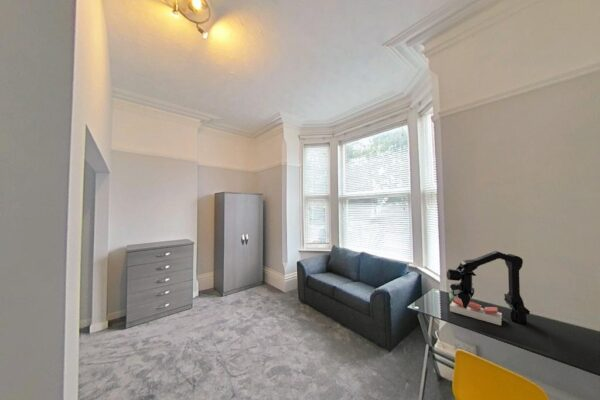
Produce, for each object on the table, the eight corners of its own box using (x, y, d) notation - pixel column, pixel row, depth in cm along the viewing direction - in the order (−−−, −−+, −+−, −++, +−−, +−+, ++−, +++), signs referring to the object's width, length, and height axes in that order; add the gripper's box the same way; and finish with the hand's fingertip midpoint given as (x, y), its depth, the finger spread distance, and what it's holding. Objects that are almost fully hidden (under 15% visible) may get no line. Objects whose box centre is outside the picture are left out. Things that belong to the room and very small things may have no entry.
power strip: (508, 321, 130) (508, 314, 130) (507, 327, 123) (507, 320, 123) (452, 306, 150) (452, 300, 150) (450, 311, 143) (449, 304, 143)
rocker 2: (481, 307, 138) (481, 305, 138) (479, 310, 133) (480, 308, 133) (469, 303, 142) (469, 301, 142) (467, 306, 138) (467, 304, 138)
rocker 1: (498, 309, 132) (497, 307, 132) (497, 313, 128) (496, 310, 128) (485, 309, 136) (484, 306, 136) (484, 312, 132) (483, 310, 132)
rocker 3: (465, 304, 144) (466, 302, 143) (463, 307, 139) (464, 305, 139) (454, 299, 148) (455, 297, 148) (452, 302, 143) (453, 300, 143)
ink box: (451, 302, 156) (450, 285, 156) (449, 299, 161) (448, 283, 161) (465, 303, 154) (464, 287, 154) (462, 300, 158) (462, 284, 159)
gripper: (454, 274, 150) (454, 297, 150) (448, 281, 137) (447, 306, 137) (474, 279, 142) (474, 302, 142) (470, 286, 129) (469, 312, 129)
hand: (466, 305), depth 137 cm, fingers open, 9 cm apart
